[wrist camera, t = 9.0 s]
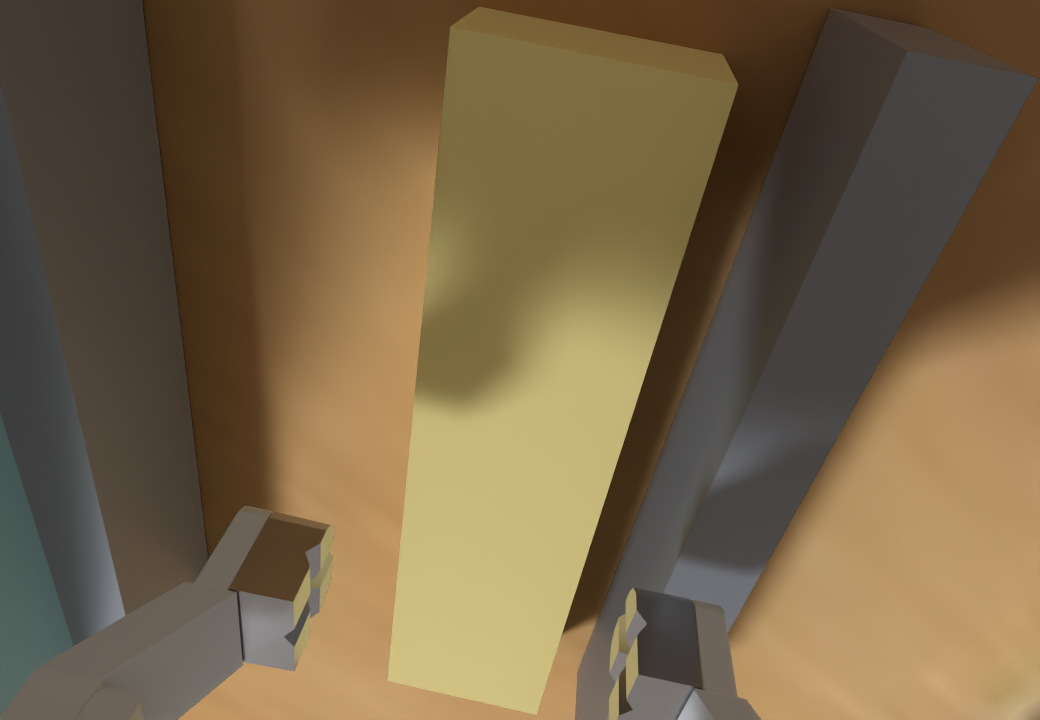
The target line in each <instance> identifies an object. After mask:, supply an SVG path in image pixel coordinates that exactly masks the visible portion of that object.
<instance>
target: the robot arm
mask: <svg viewBox="0 0 1040 720" xmlns="http://www.w3.org/2000/svg"><path fill="white" fill-rule="evenodd" d="M333 540H334V526H332V525H328V524H324V523H320V522H316V521H312V520H307V519H303V518H299V517H295V516H291V515H286V514H282V513H278V512H273V511H269V510H264V509H260V508H255V507H251V506H246V505H245V506H244V507H243V508H242V509H240V510H239V511H238V512H237V513H236V515H235V517H234V518H233V520H232V522H231V523H230V525H229V526H228V528H227V530H226V531H225V533H224V534H223V536H222V538H221V539H220V541H219V543H218V544H217V546H216V547H215V549H214V551H213V552H212V554H211V556H210V557H209V559H208V560H207V562H206V564H205V565H204V567H203V568H202V570H201V572H200V573H199V575H198V577H197V578H196V580H195V581H194V583H192V582H187V581H184V582H183V583H181V584H179V585H177V586H176V587H174V588H172V589H171V590H169V591H167V592H165V593H164V594H162V595H160V596H159V597H157V598H155V599H153V600H152V601H150V602H148V603H147V604H145V605H143V606H142V607H140V608H138V609H136V610H135V611H133V612H131V613H130V614H128V615H126V616H124V617H123V618H121V619H119V620H118V621H116V622H114V623H112V624H111V625H109V626H107V627H106V628H104V629H102V630H101V631H99V632H97V633H95V634H94V635H92V636H90V637H89V638H87V639H85V640H83V641H82V642H80V643H78V644H77V645H75V646H73V647H72V648H70V649H68V650H66V651H65V652H63V653H61V654H60V655H58V656H56V657H54V658H53V659H51V660H49V661H48V662H46V663H44V664H42V665H41V666H39V667H37V668H36V669H35V671H34V672H33V673H32V675H31V676H30V677H29V679H28V680H27V681H26V683H25V684H24V685H23V687H22V688H21V689H20V691H19V692H18V693H17V695H16V696H15V697H14V698H13V700H12V701H11V702H10V704H9V705H8V706H7V708H6V709H5V710H4V712H3V713H2V714H1V716H0V720H178V719H179V718H180V717H181V716H182V715H184V714H185V713H186V712H187V711H188V710H190V709H191V708H192V707H193V706H194V705H196V704H197V703H198V702H199V701H200V700H202V699H203V698H204V697H205V696H206V695H208V694H209V693H210V692H211V691H212V690H214V689H215V688H216V687H217V686H218V685H220V684H221V683H222V682H223V681H225V680H226V679H227V678H228V677H229V676H231V675H232V674H233V673H234V672H235V671H237V670H238V669H239V668H240V667H241V666H243V662H246V663H252V664H257V665H263V666H268V667H274V668H279V669H285V670H290V671H295V669H296V667H297V664H298V662H299V660H300V657H301V655H302V653H303V650H304V648H305V645H306V643H307V641H308V638H309V636H310V618H311V617H313V616H314V615H316V614H317V613H319V612H320V609H321V607H322V604H323V602H324V599H325V597H326V594H327V590H328V587H329V583H330V580H331V574H332V568H333V556H332V555H331V554H330V553H329V549H330V547H331V545H332V542H333ZM609 673H610V675H611V676H612V678H613V679H614V681H615V686H614V688H613V690H612V693H611V695H610V697H609V720H761V719H760V717H759V716H758V715H757V713H756V712H755V711H754V709H753V708H752V706H751V705H750V704H749V702H748V701H747V700H746V699H743V698H739V697H737V690H736V684H735V677H734V670H733V664H732V657H731V651H730V644H729V637H728V631H727V624H726V618H725V612H724V610H723V608H722V607H721V606H719V605H715V604H710V603H705V602H700V601H696V600H690V599H689V598H684V597H679V596H674V595H669V594H664V593H659V592H653V591H648V590H643V589H638V588H632V589H631V590H630V592H629V594H628V597H627V599H626V614H624V615H622V616H620V617H619V619H618V621H617V624H616V627H615V630H614V634H613V639H612V643H611V652H610V672H609Z"/></svg>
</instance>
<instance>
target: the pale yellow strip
mask: <svg viewBox="0 0 1040 720" xmlns="http://www.w3.org/2000/svg"><path fill="white" fill-rule="evenodd" d="M737 88H738V83H737V81H736V79H735V77H734V75H733V73H732V71H731V69H730V67H729V65H728V63H727V61H726V59H725V57H724V55H723V54H718V53H713V52H708V51H703V50H698V49H693V48H688V47H683V46H678V45H673V44H667V43H662V42H657V41H652V40H647V39H642V38H637V37H632V36H627V35H622V34H617V33H611V32H606V31H601V30H596V29H591V28H586V27H581V26H576V25H571V24H566V23H561V22H555V21H550V20H545V19H540V18H535V17H530V16H525V15H520V14H515V13H510V12H505V11H499V10H494V9H489V8H484V7H478V8H476V9H475V10H473V11H472V12H470V13H469V14H468V15H466V16H465V17H463V18H462V19H460V20H459V21H458V22H456V23H455V24H453V25H452V26H450V34H449V44H448V55H447V65H446V76H445V86H444V96H443V107H442V117H441V128H440V138H439V148H438V159H437V169H436V180H435V190H434V201H433V211H432V221H431V232H430V242H429V253H428V263H427V273H426V284H425V294H424V305H423V315H422V326H421V336H420V346H419V357H418V367H417V378H416V388H415V398H414V409H413V419H412V430H411V440H410V451H409V461H408V471H407V482H406V492H405V503H404V513H403V523H402V534H401V544H400V555H399V565H398V576H397V586H396V596H395V607H394V617H393V628H392V638H391V648H390V659H389V669H388V680H387V681H391V682H395V683H400V684H404V685H409V686H413V687H417V688H422V689H426V690H430V691H435V692H439V693H443V694H448V695H452V696H457V697H461V698H465V699H470V700H474V701H478V702H483V703H487V704H491V705H496V706H500V707H505V708H509V709H513V710H518V711H522V712H526V713H531V714H535V715H536V713H537V710H538V707H539V704H540V701H541V698H542V695H543V691H544V688H545V685H546V682H547V679H548V676H549V673H550V670H551V667H552V663H553V660H554V657H555V654H556V651H557V648H558V645H559V642H560V639H561V635H562V632H563V629H564V626H565V623H566V620H567V617H568V614H569V611H570V607H571V604H572V601H573V598H574V595H575V592H576V589H577V586H578V583H579V580H580V576H581V573H582V570H583V567H584V564H585V561H586V558H587V555H588V552H589V548H590V545H591V542H592V539H593V536H594V533H595V530H596V527H597V524H598V520H599V517H600V514H601V511H602V508H603V505H604V502H605V499H606V496H607V492H608V489H609V486H610V483H611V480H612V477H613V474H614V471H615V468H616V464H617V461H618V458H619V455H620V452H621V449H622V446H623V443H624V440H625V436H626V433H627V430H628V427H629V424H630V421H631V418H632V415H633V412H634V408H635V405H636V402H637V399H638V396H639V393H640V390H641V387H642V384H643V380H644V377H645V374H646V371H647V368H648V365H649V362H650V359H651V356H652V352H653V349H654V346H655V343H656V340H657V337H658V334H659V331H660V328H661V324H662V321H663V318H664V315H665V312H666V309H667V306H668V303H669V300H670V296H671V293H672V290H673V287H674V284H675V281H676V278H677V275H678V272H679V268H680V265H681V262H682V259H683V256H684V253H685V250H686V247H687V244H688V240H689V237H690V234H691V231H692V228H693V225H694V222H695V219H696V216H697V212H698V209H699V206H700V203H701V200H702V197H703V194H704V191H705V188H706V184H707V181H708V178H709V175H710V172H711V169H712V166H713V163H714V160H715V156H716V153H717V150H718V147H719V144H720V141H721V138H722V135H723V132H724V128H725V125H726V122H727V119H728V116H729V113H730V110H731V107H732V104H733V100H734V97H735V94H736V91H737Z"/></svg>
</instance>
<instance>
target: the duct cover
mask: <svg viewBox="0 0 1040 720" xmlns="http://www.w3.org/2000/svg"><path fill="white" fill-rule="evenodd" d="M72 647H73V643H72V639H71V636H70V633H69V630H68V627H67V623H66V620H65V617H64V614H63V611H62V608H61V604H60V601H59V598H58V595H57V592H56V589H55V585H54V582H53V579H52V576H51V573H50V569H49V566H48V563H47V560H46V557H45V554H44V550H43V547H42V544H41V541H40V538H39V535H38V531H37V528H36V525H35V522H34V519H33V516H32V512H31V509H30V506H29V503H28V500H27V496H26V493H25V490H24V487H23V484H22V481H21V477H20V474H19V471H18V468H17V465H16V462H15V458H14V455H13V452H12V449H11V446H10V442H9V439H8V436H7V433H6V430H5V427H4V423H3V420H2V417H1V414H0V716H1V714H2V713H3V712H4V710H5V709H6V708H7V706H8V705H9V704H10V702H11V701H12V700H13V698H14V697H15V696H16V695H17V693H18V692H19V691H20V689H21V688H22V687H23V685H24V684H25V683H26V681H27V680H28V679H29V677H30V676H31V675H32V673H33V672H34V671H35V669H36V668H37V667H39V666H41V665H42V664H44V663H46V662H48V661H49V660H51V659H53V658H54V657H56V656H58V655H60V654H61V653H63V652H65V651H66V650H68V649H70V648H72Z"/></svg>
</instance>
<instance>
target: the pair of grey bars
mask: <svg viewBox="0 0 1040 720" xmlns="http://www.w3.org/2000/svg"><path fill="white" fill-rule="evenodd" d="M1038 79H1039V78H1037V77H1035V76H1033V75H1031V74H1028V73H1026V72H1024V71H1022V70H1020V69H1017V68H1015V67H1013V66H1011V65H1009V64H1006V63H1004V62H1002V61H1000V60H997V59H995V58H993V57H991V56H989V55H986V54H984V53H982V52H980V51H978V50H975V49H973V48H971V47H969V46H966V45H964V44H962V43H960V42H958V41H955V40H953V39H951V38H949V37H947V36H944V35H942V34H940V33H938V32H935V31H933V30H931V29H929V28H926V27H922V26H917V25H912V24H907V23H903V22H898V21H893V20H888V19H883V18H879V17H874V16H869V15H864V14H859V13H855V12H850V11H845V10H840V9H835V8H831V7H830V10H829V13H828V15H827V18H826V21H825V23H824V26H823V28H822V31H821V34H820V36H819V39H818V42H817V44H816V47H815V49H814V52H813V55H812V57H811V60H810V63H809V65H808V68H807V71H806V73H805V76H804V78H803V81H802V84H801V86H800V89H799V92H798V94H797V97H796V99H795V102H794V105H793V107H792V110H791V113H790V115H789V118H788V120H787V123H786V126H785V128H784V131H783V134H782V136H781V139H780V141H779V144H778V147H777V149H776V152H775V155H774V157H773V160H772V162H771V165H770V168H769V170H768V173H767V176H766V178H765V181H764V183H763V186H762V189H761V191H760V194H759V197H758V199H757V202H756V205H755V207H754V210H753V212H752V215H751V218H750V220H749V223H748V226H747V228H746V231H745V233H744V236H743V239H742V241H741V244H740V247H739V249H738V252H737V254H736V257H735V260H734V262H733V265H732V268H731V270H730V273H729V275H728V278H727V281H726V283H725V286H724V289H723V291H722V294H721V296H720V299H719V302H718V304H717V307H716V310H715V312H714V315H713V318H712V320H711V323H710V325H709V328H708V331H707V333H706V336H705V339H704V341H703V344H702V346H701V349H700V352H699V354H698V357H697V360H696V362H695V365H694V367H693V370H692V373H691V375H690V378H689V381H688V383H687V386H686V388H685V391H684V394H683V396H682V399H681V402H680V404H679V407H678V409H677V412H676V415H675V417H674V420H673V423H672V425H671V428H670V430H669V433H668V436H667V438H666V441H665V444H664V446H663V449H662V452H661V454H660V457H659V459H658V462H657V465H656V467H655V470H654V473H653V475H652V478H651V480H650V483H649V486H648V488H647V491H646V494H645V496H644V499H643V501H642V504H641V507H640V509H639V512H638V515H637V517H636V520H635V522H634V525H633V528H632V530H631V533H630V536H629V538H628V541H627V543H626V546H625V549H624V551H623V554H622V557H621V559H620V562H619V565H618V567H617V570H616V572H615V575H614V578H613V580H612V583H611V586H610V588H609V591H608V593H607V596H606V599H605V601H604V604H603V607H602V609H601V612H600V614H599V617H598V620H597V622H596V625H595V628H594V630H593V633H592V635H591V638H590V641H589V643H588V646H587V649H586V651H585V654H584V656H583V659H582V662H581V664H580V667H579V670H578V673H577V692H576V711H575V720H609V697H610V695H611V693H612V690H613V688H614V686H615V681H614V679H613V678H612V676H611V675H610V673H609V672H610V652H611V643H612V639H613V634H614V630H615V627H616V624H617V621H618V619H619V617H620V616H622V615H624V614H626V599H627V597H628V594H629V592H630V590H631V589H632V588H638V589H643V590H648V591H653V592H659V593H664V594H669V595H674V596H679V597H684V598H689V599H690V600H696V601H700V602H705V603H710V604H715V605H719V606H721V607H722V608H723V610H724V612H725V618H726V624H727V631H728V632H729V630H730V628H731V627H732V625H733V623H734V621H735V619H736V618H737V616H738V614H739V612H740V611H741V609H742V607H743V605H744V603H745V602H746V600H747V598H748V596H749V594H750V593H751V591H752V589H753V587H754V586H755V584H756V582H757V580H758V578H759V577H760V575H761V573H762V571H763V569H764V568H765V566H766V564H767V562H768V561H769V559H770V557H771V555H772V553H773V552H774V550H775V548H776V546H777V545H778V543H779V541H780V539H781V537H782V536H783V534H784V532H785V530H786V528H787V527H788V525H789V523H790V521H791V520H792V518H793V516H794V514H795V512H796V511H797V509H798V507H799V505H800V504H801V502H802V500H803V498H804V496H805V495H806V493H807V491H808V489H809V487H810V486H811V484H812V482H813V480H814V479H815V477H816V475H817V473H818V471H819V470H820V468H821V466H822V464H823V462H824V461H825V459H826V457H827V455H828V454H829V452H830V450H831V448H832V446H833V445H834V443H835V441H836V439H837V438H838V436H839V434H840V432H841V430H842V429H843V427H844V425H845V423H846V421H847V420H848V418H849V416H850V414H851V413H852V411H853V409H854V407H855V405H856V404H857V402H858V400H859V398H860V396H861V395H862V393H863V391H864V389H865V388H866V386H867V384H868V382H869V380H870V379H871V377H872V375H873V373H874V372H875V370H876V368H877V366H878V364H879V363H880V361H881V359H882V357H883V355H884V354H885V352H886V350H887V348H888V347H889V345H890V343H891V341H892V339H893V338H894V336H895V334H896V332H897V331H898V329H899V327H900V325H901V323H902V322H903V320H904V318H905V316H906V314H907V313H908V311H909V309H910V307H911V306H912V304H913V302H914V300H915V298H916V297H917V295H918V293H919V291H920V289H921V288H922V286H923V284H924V282H925V281H926V279H927V277H928V275H929V273H930V272H931V270H932V268H933V266H934V265H935V263H936V261H937V259H938V257H939V256H940V254H941V252H942V250H943V248H944V247H945V245H946V243H947V241H948V240H949V238H950V236H951V234H952V232H953V231H954V229H955V227H956V225H957V224H958V222H959V220H960V218H961V216H962V215H963V213H964V211H965V209H966V207H967V206H968V204H969V202H970V200H971V199H972V197H973V195H974V193H975V191H976V190H977V188H978V186H979V184H980V182H981V181H982V179H983V177H984V175H985V174H986V172H987V170H988V168H989V166H990V165H991V163H992V161H993V159H994V158H995V156H996V154H997V152H998V150H999V149H1000V147H1001V145H1002V143H1003V141H1004V140H1005V138H1006V136H1007V134H1008V133H1009V131H1010V129H1011V127H1012V125H1013V124H1014V122H1015V120H1016V118H1017V117H1018V115H1019V113H1020V111H1021V109H1022V108H1023V106H1024V104H1025V102H1026V100H1027V99H1028V97H1029V95H1030V93H1031V92H1032V90H1033V88H1034V86H1035V84H1036V83H1037V81H1038ZM0 414H1V417H2V420H3V423H4V427H5V430H6V433H7V436H8V439H9V442H10V446H11V449H12V452H13V455H14V458H15V462H16V465H17V468H18V471H19V474H20V477H21V481H22V484H23V487H24V490H25V493H26V496H27V500H28V503H29V506H30V509H31V512H32V516H33V519H34V522H35V525H36V528H37V531H38V535H39V538H40V541H41V544H42V547H43V550H44V554H45V557H46V560H47V563H48V566H49V569H50V573H51V576H52V579H53V582H54V585H55V589H56V592H57V595H58V598H59V601H60V604H61V608H62V611H63V614H64V617H65V620H66V623H67V627H68V630H69V633H70V636H71V639H72V643H73V646H75V645H77V644H78V643H80V642H82V641H83V640H85V639H87V638H89V637H90V636H92V635H94V634H95V633H97V632H99V631H101V630H102V629H104V628H106V627H107V626H109V625H111V624H112V623H114V622H116V621H118V620H119V619H121V618H123V617H124V616H126V615H128V614H130V613H131V612H133V611H135V610H136V609H138V608H140V607H142V606H143V605H145V604H147V603H148V602H150V601H152V600H153V599H155V598H157V597H159V596H160V595H162V594H164V593H165V592H167V591H169V590H171V589H172V588H174V587H176V586H177V585H179V584H181V583H183V582H184V581H187V582H192V583H194V581H195V580H196V578H197V577H198V575H199V573H200V572H201V570H202V568H203V567H204V565H205V564H206V562H207V560H208V553H207V544H206V536H205V527H204V519H203V511H202V502H201V494H200V485H199V477H198V468H197V460H196V452H195V443H194V435H193V426H192V418H191V410H190V401H189V393H188V384H187V376H186V367H185V359H184V351H183V342H182V334H181V325H180V317H179V308H178V300H177V292H176V283H175V275H174V266H173V258H172V250H171V241H170V233H169V224H168V216H167V207H166V199H165V191H164V182H163V174H162V165H161V157H160V148H159V140H158V132H157V123H156V115H155V106H154V98H153V89H152V81H151V73H150V64H149V56H148V47H147V39H146V31H145V22H144V14H143V5H142V0H0Z"/></svg>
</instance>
